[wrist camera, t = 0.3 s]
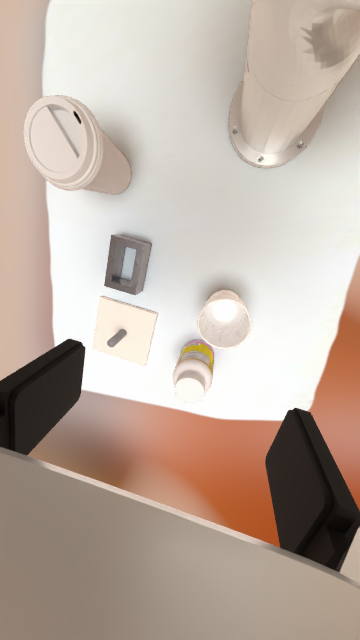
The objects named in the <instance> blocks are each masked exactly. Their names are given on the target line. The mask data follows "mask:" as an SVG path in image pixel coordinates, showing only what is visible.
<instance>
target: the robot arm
mask: <svg viewBox="0 0 360 640" xmlns="http://www.w3.org/2000/svg"><path fill="white" fill-rule="evenodd" d="M359 54H360V0H252V7H251V19H250V28H249V37H248V46H247V55H246V65H245V74H244V80H243V81H242V83H241V84H240V85H239V87H238V89H237V91H236V93H235V95H234V98H233V101H232V104H231V108H230V113H229V134H230V138H231V142H232V144H233V146H234V149H235V150H236V152H237V153H238V155H239V156H240V157H241V158H242V159H243V160H244V161H246V162H247V163H249V164H251V165H253V166H256V167H260V168H272V167H277V166H280V165H283V164H285V163H287V162H289V161H291V160H293V159H294V158H295V157H296V156H298V155H299V154H300V153H301V152H302V151H303V150H304V149H305V148H306V147H307V145H308V144H309V143H310V141H311V140H312V138H313V137H314V135H315V133H316V131H317V129H318V127H319V124H320V122H321V118H322V114H323V109H324V103H325V102H326V100H327V99H328V98H329V96H330V95H331V94H332V92H333V91H334V89H335V88H336V87H337V85H338V84H339V83H340V81H341V80H342V78H343V77H344V76H345V74H346V73H347V71H348V70H349V68H350V67H351V66H352V64H353V63H354V62H355V60H356V59H357V57H358V56H359ZM234 131H236V132H237V133H236V134H234V133H233V132H234ZM298 145H299V146H300V149H299V148H297V146H298ZM259 159H261V162H258V160H259ZM84 357H85V347H84V346H83V344H82V343H81V342H79V341H76V340H72V339H67V340H66V341H64V342H63V343H61V344H59V345H58V346H56V347H54V348H53V349H51V350H50V351H48V352H46V353H45V354H43V355H41V356H40V357H38V358H37V359H35V360H33V361H32V362H30V363H29V364H27V365H25V366H24V367H22V368H20V369H19V370H17V371H16V372H14V373H12V374H11V375H9V376H7V377H6V378H4V379H3V380H1V381H0V640H360V511H359V509H358V507H357V505H356V503H355V501H354V499H353V497H352V495H351V493H350V491H349V489H348V487H347V485H346V483H345V481H344V479H343V477H342V475H341V473H340V471H339V469H338V467H337V465H336V463H335V461H334V459H333V457H332V455H331V453H330V451H329V449H328V447H327V445H326V443H325V441H324V439H323V437H322V435H321V433H320V431H319V429H318V427H317V425H316V423H315V421H314V419H313V417H312V415H311V413H310V412H308V411H304V410H301V409H298V408H294V409H293V410H289V411H288V412H287V414H286V416H285V418H284V420H283V422H282V425H281V427H280V429H279V431H278V433H277V435H276V437H275V439H274V441H273V443H272V445H271V447H270V449H269V451H268V453H267V456H266V462H265V463H266V469H267V474H268V481H269V486H270V492H271V497H272V503H273V508H274V514H275V520H276V525H277V531H278V536H279V542H280V548H279V547H277V546H274V545H272V544H269V543H266V542H264V541H261V540H259V539H256V538H253V537H250V536H248V535H245V534H242V533H240V532H237V531H234V530H232V529H229V528H226V527H223V526H221V525H218V524H215V523H213V522H210V521H207V520H204V519H202V518H199V517H196V516H194V515H191V514H188V513H185V512H183V511H180V510H177V509H174V508H172V507H169V506H166V505H163V504H161V503H158V502H155V501H153V500H150V499H147V498H144V497H141V496H138V495H136V494H133V493H130V492H128V491H125V490H122V489H119V488H117V487H114V486H111V485H108V484H106V483H103V482H100V481H97V480H94V479H92V478H89V477H86V476H83V475H80V474H77V473H75V472H72V471H69V470H66V469H63V468H61V467H58V466H55V465H52V464H49V463H47V462H44V461H41V460H38V459H35V458H32V457H29V456H27V455H28V454H29V453H30V452H31V451H32V449H34V447H35V446H36V445H37V444H38V443H39V442H40V441H41V440H42V439H43V438H44V437H45V436H46V434H47V433H48V432H49V431H50V430H51V429H52V428H53V427H54V426H55V425H56V424H57V423H58V422H59V421H60V419H61V418H62V417H63V416H64V415H65V414H66V413H67V412H68V411H69V410H70V408H72V407H73V406H74V404H75V403H76V402H77V401H78V399H79V397H80V394H81V386H82V376H83V366H84Z"/></svg>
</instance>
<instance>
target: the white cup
mask: <svg viewBox="0 0 360 640" xmlns="http://www.w3.org/2000/svg"><path fill="white" fill-rule="evenodd" d="M197 326H198V331H199V334H200V336H201V337H202V339H203V340H204V341H205V342H206V343H208V344H209V345H211V346H213V347H215V348H219V349H230V348H234V347H237V346H238V345H240V344H242V343H243V342H244V341H245V340H246V339H247V337H248V335H249V333H250V331H251V318H250V315H249V313H248V311H247V308H246V306H245V304H244V303H243V301H242V300H241V299H240V297H239V295H238V294H236V293H234V292H233V291H231V290H220V291H217V292H215V293H214V294H212V295H211V296H210V297H209V299H208V300H207V301H206V303H205V305H204V306H203V308H202V310H201V312H200V314H199V317H198V321H197Z"/></svg>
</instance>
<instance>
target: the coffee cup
mask: <svg viewBox="0 0 360 640" xmlns="http://www.w3.org/2000/svg"><path fill="white" fill-rule="evenodd" d="M24 142H25V147H26V150H27V153H28V155H29V157H30V159H31V161H32V163H33V164H34V165H35V166H36V168H37V170H38V171H39V172H40V173H41V175H42V176H43V177H44V178H45V179H46V180H47V181H49V182H50V183H51V184H53V185H54V186H56V187H58V188H60V189H63V190H68V191H74V190H79V189H85V190H91V191H96V192H102V193H107V194H113V195H116V194H120V193H122V192H124V191H125V190H126V189H127V187H128V186H129V184H130V181H131V167H130V164H129V162H128V160H127V159H126V157H125V156H124V155H123V154H122V153H121V152H120V151H119V150H118V148H117V147H116V146H115V145H114V144H113V143H112V142H111V141H110V139H109V138H108V137H107V136H106V135H105V134H104V133H103V131H102V130H101V129H100V127H99V125H98V123H97V121H96V119H95V117H94V115H93V114H92V113H91V111H90V110H89V109H88V108H87V107H86V106H85V105H84V104H82V103H81V102H79V101H78V100H76V99H73V98H70V97H67V96H60V95H56V96H46V97H43V98H41V99H39V100H38V101H36V102H35V103H34V104H33V105H32V106H31V108H30V109H29V111H28V113H27V116H26V119H25V123H24Z"/></svg>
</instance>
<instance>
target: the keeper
mask: <svg viewBox="0 0 360 640" xmlns="http://www.w3.org/2000/svg"><path fill="white" fill-rule="evenodd" d="M157 316H158V313H156V312H153V311H150V310H146V309H143V308H140V307H137V306H133V305H130V304H127V303H124V302H120V301H117V300H114V299H111V298H107V297H104V296H101V297H100V300H99V307H98V315H97V322H96V330H95V337H94V344H93V349H95V350H98V351H101V352H104V353H107V354H110V355H113V356H116V357H119V358H122V359H125V360H128V361H131V362H134V363H137V364H140V365H143V366H145V365H146V363H147V359H148V354H149V350H150V346H151V342H152V337H153V333H154V329H155V324H156V320H157Z"/></svg>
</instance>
